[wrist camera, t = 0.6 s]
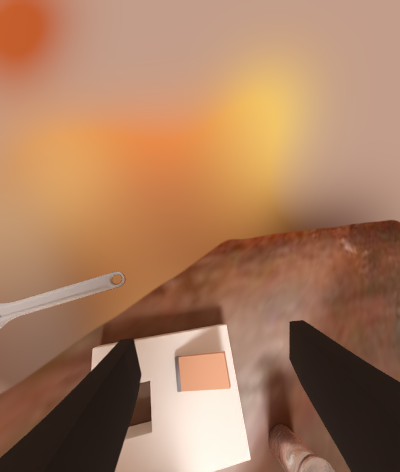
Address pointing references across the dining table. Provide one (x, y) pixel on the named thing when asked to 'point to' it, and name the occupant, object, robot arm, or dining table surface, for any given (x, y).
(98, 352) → the plate
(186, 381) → the block
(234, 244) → the dining table surface
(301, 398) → the dining table surface
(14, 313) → the adjustable wrench
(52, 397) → the dining table surface
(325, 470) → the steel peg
